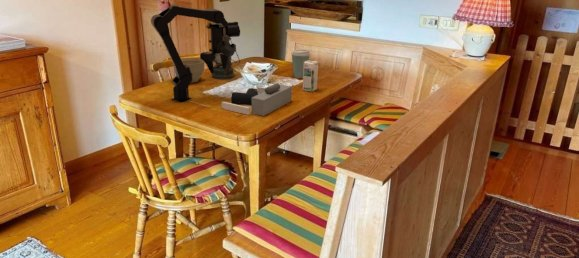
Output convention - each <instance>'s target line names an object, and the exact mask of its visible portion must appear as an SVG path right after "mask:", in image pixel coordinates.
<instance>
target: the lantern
mask: <svg viewBox="0 0 579 258" xmlns="http://www.w3.org/2000/svg"><path fill="white" fill-rule="evenodd" d="M213 24H217V23H214V22H213ZM218 25H219V26H224V25H222V24H218ZM223 38H224V40H226V44H227V45H231V44H233V42H232V37H226V35H224V33H223ZM235 53H236V56H237V58H238V61H239V62H237V61H235V60H234V59H232V56H231V57H230V58H229V60H228V63H227V67H226V69H223V66H222V62H221V57H220V55H217V56H216V58H215V60H216V61H215V62H214V73H213V74H212V73H211V78H213V79H216V80H230V79H233V78H235V77H236V75H235V73H234V67H232V66H233V62H234V63H235V64H236V63H237V64H241V60H240V57H239V54H238V52H237V50H236V51H235ZM216 54H217V53H216ZM232 61H233V62H232Z"/></svg>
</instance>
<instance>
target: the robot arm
mask: <svg viewBox="0 0 579 258" xmlns="http://www.w3.org/2000/svg"><path fill="white" fill-rule="evenodd" d="M177 16H183V17H190V18H195V19H196V18H197V19H203V20H205V21H208V23H207V25H205V28H206V29H209V30H210V39H209V40H208V42H209V44H210V45H211V46H210V47H211V48H209V51H204V52H201V53H200V54H199V58H200V59H202V60H203V61H204V64H205V65H206V66H207V69H208V70H209V72H210V74H211V75H212V74H213V73H214V66H215V61H216V60H215V58H216V56H217V55H220V57H221V62H222V66H223V69H226V67H227V63H228V60H229V58H230V57H231V58H232V56H234V54H235V53H236V52H237V45H236V44H235V43H230V45H227V44H226V40H224V38H223V33H224V35H226V37H230V38H237V37H240V35H241V29H240V26H239V22H238V21H227V19H226V18H225V15H224V13H223V11H222V10H219V9H217V8H206V9H201V8H200V9H199V8H193V7H186V6H180V5H177V4H171V5H170V6H169V7H168V8H166V9H164V10H162V11H161V12H159V13H158V14H153V15H152V16H151V18H150V24H151V26H152V28H154V30H155V31H156V33H157V35H158V36H160V39H161V40H162V43H163V44H164V47H165V50H166V51H167V53H168V55H169V58H170V60H171V62H172V64H173V68H175V69H174V72H175V77H173V79H172V80H171V82H172V85H173V87H172V90H173V98H171V100H172V101H175V102H178V103H184V102H187V101H189V100H191V99H192V97H190V94H189V85H190V84H192V83H191V81H192V75H193V74H192V73H191V71H190V68H189V66H188V65H186V64H185V65H184V64H183V63H182V60H181V58H182V57H181V56H180V54H179V52H178V49H177V48H176V45H175V43H174V41H173V38H172V37H171V34H170V27H169V24H170V22H172V21H173V20H174V19H175V18H176V17H177ZM212 23H213V24H212ZM214 23H217V24H214ZM218 24H222V25H224V26H219V25H218ZM235 51H236V52H235ZM216 53H217V54H216Z"/></svg>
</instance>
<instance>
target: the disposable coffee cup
mask: <svg viewBox="0 0 579 258" xmlns="http://www.w3.org/2000/svg"><path fill="white" fill-rule="evenodd" d="M310 56H311V52H310V50H309V49H294V50H292V51H291V61H292V62H291V63H292V71H293V72H292V73H293V76H294V78H297V79H303V71H304V62H305V61H308V60H309V61H310Z"/></svg>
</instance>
